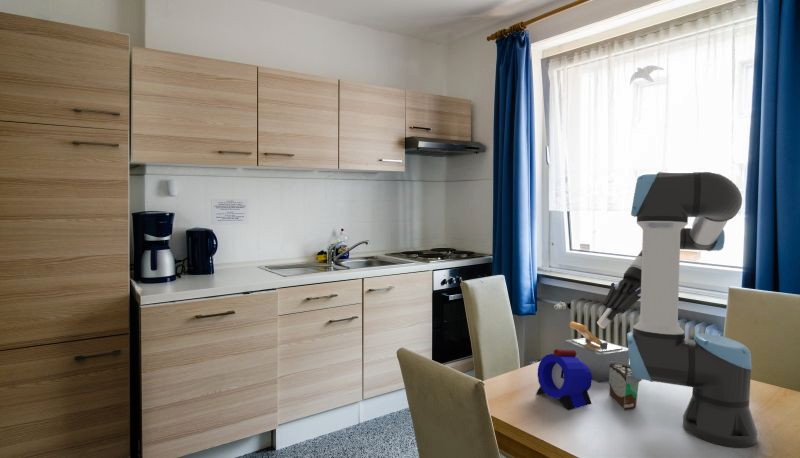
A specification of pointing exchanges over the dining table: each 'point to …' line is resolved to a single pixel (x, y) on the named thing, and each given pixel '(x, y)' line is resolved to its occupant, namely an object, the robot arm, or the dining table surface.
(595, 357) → the box
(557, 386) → the alarm clock
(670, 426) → the dining table surface
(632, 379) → the food container
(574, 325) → the lever
